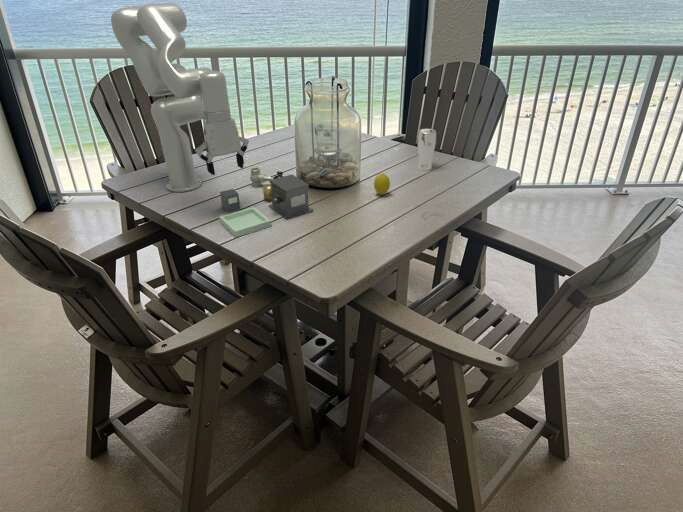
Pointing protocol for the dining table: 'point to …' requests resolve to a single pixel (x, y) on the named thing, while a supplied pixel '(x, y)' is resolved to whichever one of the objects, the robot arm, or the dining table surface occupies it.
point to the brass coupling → (267, 193)
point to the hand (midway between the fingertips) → (226, 170)
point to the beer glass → (426, 148)
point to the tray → (245, 221)
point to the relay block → (230, 200)
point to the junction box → (289, 196)
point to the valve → (261, 177)
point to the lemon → (381, 183)
